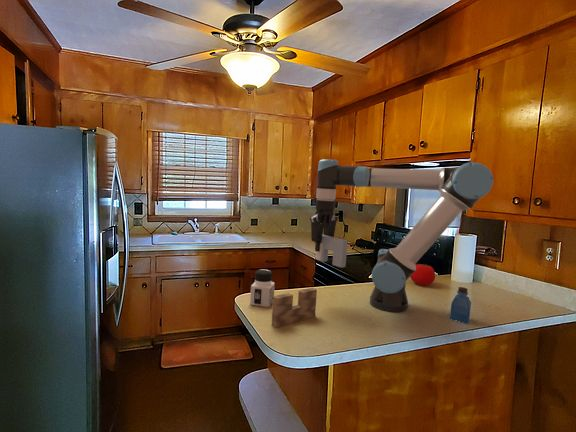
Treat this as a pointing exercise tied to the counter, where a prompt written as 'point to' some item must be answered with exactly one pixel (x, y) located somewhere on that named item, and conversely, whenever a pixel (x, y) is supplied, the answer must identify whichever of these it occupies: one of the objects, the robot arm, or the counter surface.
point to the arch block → (334, 250)
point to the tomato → (423, 275)
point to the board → (293, 307)
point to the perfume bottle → (461, 306)
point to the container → (262, 289)
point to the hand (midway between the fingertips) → (321, 258)
